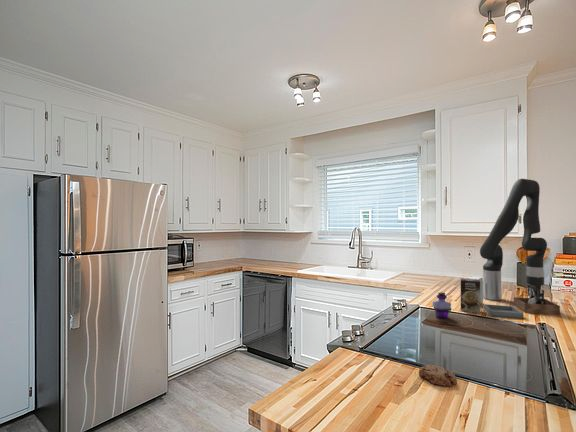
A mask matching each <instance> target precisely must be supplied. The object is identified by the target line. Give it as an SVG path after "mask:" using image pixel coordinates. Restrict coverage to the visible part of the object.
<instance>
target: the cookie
mask: <svg viewBox="0 0 576 432" xmlns="http://www.w3.org/2000/svg"><path fill="white" fill-rule="evenodd" d="M418 374H419V376H420V377H421V378H424V380H425V379H426V380H427V381H429V383H431V384H433V385H439V386H442V387H443V386H444V387H450V388H451V387H452V386H455V385H457V383H458V380H457V377H456V375H455V373H454V372H453V371H450V370H448V369H447V370H446V369H445V368H444V367H442V366H441V365H440V366H439V365H434V364H425V365H423V366H421V367H420V368H419V371H418Z"/></svg>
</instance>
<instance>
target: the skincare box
mask: <svg viewBox="0 0 576 432" xmlns="http://www.w3.org/2000/svg"><path fill="white" fill-rule="evenodd" d="M466 279H471V280H480V305H482V304H483V303H484V298H483V277H479V276H473V275H472V276H470V277H466Z"/></svg>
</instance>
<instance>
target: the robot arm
mask: <svg viewBox="0 0 576 432" xmlns="http://www.w3.org/2000/svg"><path fill="white" fill-rule="evenodd" d="M540 188H541V187H540V184H539V182H538V181H537V180H535V179H527V178H519V179H517V180H516V181H515V182H514V183H513V185H512V187H511V190H510V192H509V194H508V197H507V199H506V202H505V204H504V206H503V208H502V210H501V212H500V214H499V215H498V216H497V219H496V221H495V223H494V226H493V227H492V229H491V230H490V233H489V235H488V236H487V238H485V240H484V242H483V244H481V246H480V250H479V254H480V257H481V258H482V259H484V260H486V262H485V263H484V264H483V265H482V269H483V270H482V278H483V299H484V300H490V301H502V295H503V294H502V267H503V265H504V264H503V261H504V253H503V248H502V246H501V245H500V243H501V242H502V241H503V239H504V238H505V237H506V236H508V235H509V234H510V233H511V232H512V231H513V230H514V227H516V224H517V223H518V221H519V218H520V216H519V215H520V213H519V207H520V203H521V201H522V199H523V198H524V197H525V198H526V208H525V210H524V213H523V214H522V215H523V217H522V223H523V236H522V240H521V247H522V249H523V250H524V251H526V252H527V251H528V252H535V253H534V254H530V255H527V256H526V261H525V262H526V268H525V269H526V270H525V276H526V277H525V278H526V279H525V281H526V284H527V285H526V286H527V287H526V289H527V297H528V298H530V299H531V298H534V297H535V299H536V304H542V301H544V299H545V289H542V288H541V287H542V286H544V285H545V270H544V258H545V255H546V251H547V249H548V242H547V241H546V239H545V238H543V237H532V235H535V234H538V233H540V232H541V222H540V216H539V215H540V213H539V212H540V211H539V209H540V208H539V206H540V193H541V192H540V190H541V189H540ZM539 298H540V299H539Z"/></svg>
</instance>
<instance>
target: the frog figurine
mask: <svg viewBox="0 0 576 432" xmlns="http://www.w3.org/2000/svg"><path fill="white" fill-rule="evenodd" d="M539 299H540V298H539ZM528 304H536V299H535V297H534V298H531V299H529V300H528ZM542 304H543V301H542Z"/></svg>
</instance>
